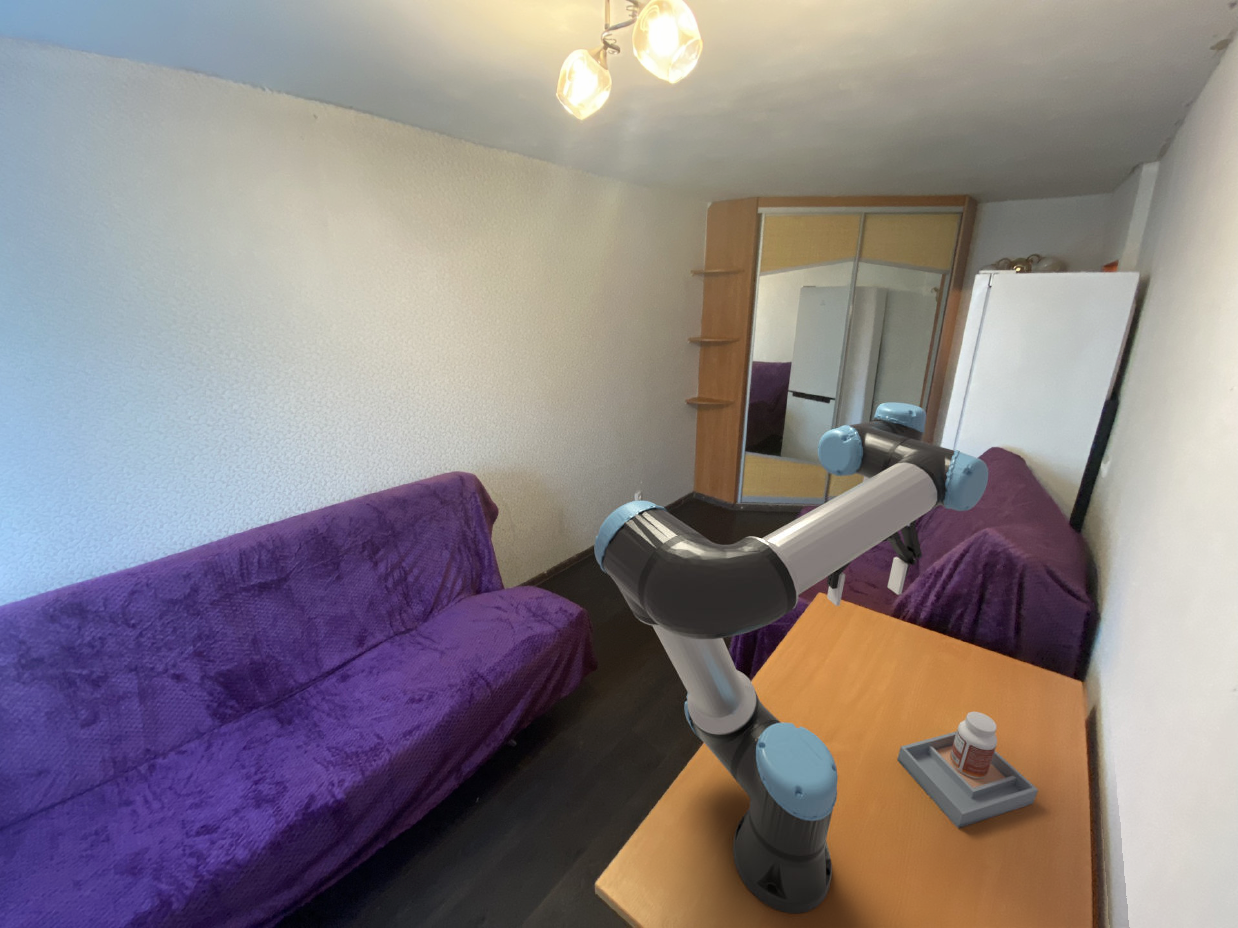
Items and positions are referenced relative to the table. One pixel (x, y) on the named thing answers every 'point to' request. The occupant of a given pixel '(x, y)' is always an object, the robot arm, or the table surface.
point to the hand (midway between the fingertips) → (864, 596)
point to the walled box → (965, 782)
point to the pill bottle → (974, 745)
